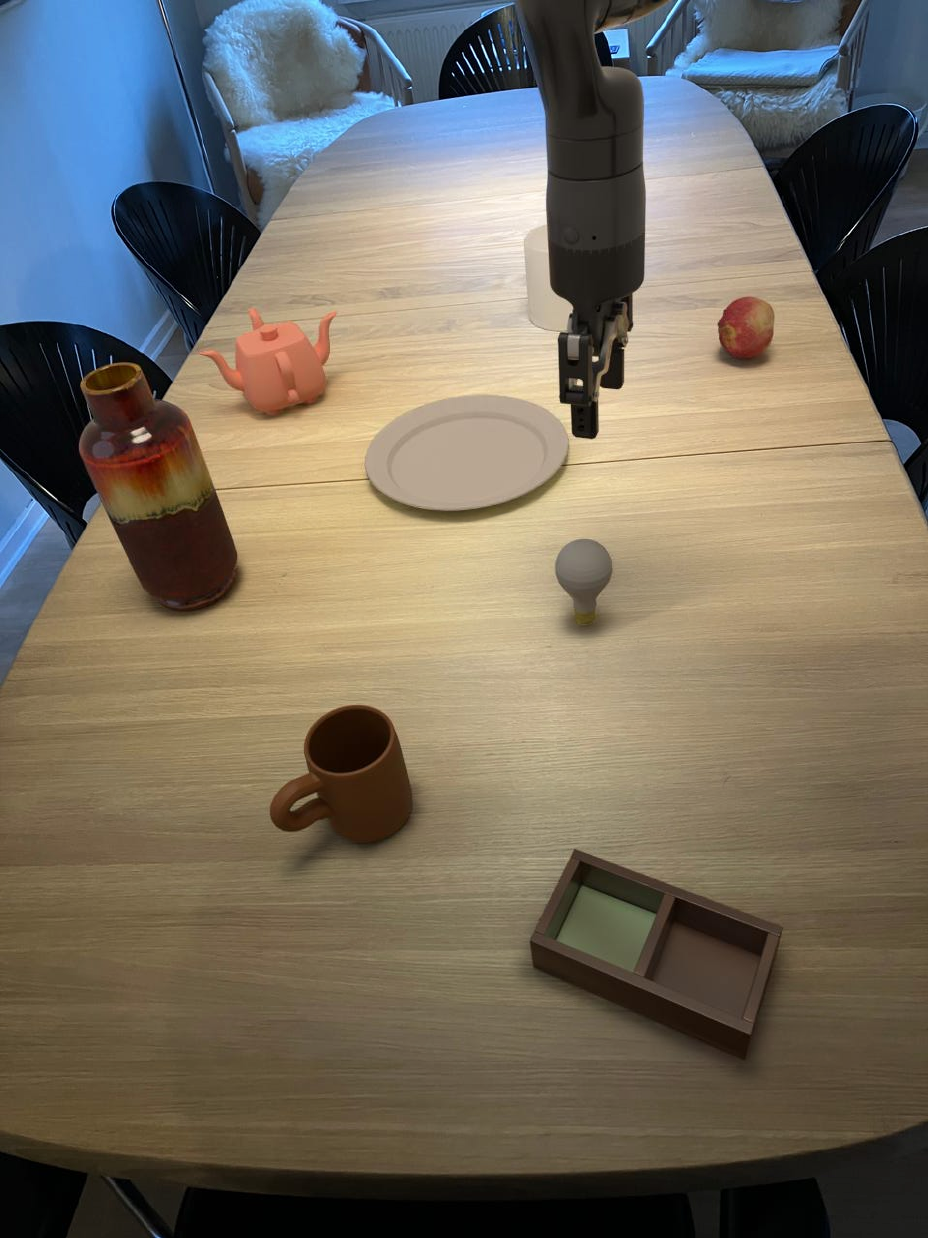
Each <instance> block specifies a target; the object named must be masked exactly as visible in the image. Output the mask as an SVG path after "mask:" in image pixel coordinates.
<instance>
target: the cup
mask: <svg viewBox="0 0 928 1238" xmlns="http://www.w3.org/2000/svg"><path fill="white" fill-rule="evenodd" d="M523 252H524V267H525V281H526V282H525V283H526V295H527V311H528V318H529V321H530V322H531V323H532V324H533V325H535V326H536V327H537V328H540V329H544V330H548V331H554V332H555V331H556V332H567V325H568V318H569V315H570V313H572V310H573V306H572V305H571V304H570V303H569V302H568V301H567V300H565V299H564V298H561V297H559V296H558V295H556V294H555V293H554V291H553V290H552V288H551V286H550V274H549V254H548V235H547V223H546V224H542V225H539V226H538V227H535V228H534V229H531V230H530V231H529V232H528V233H527V234H526V235H525V236H524V238H523Z"/></svg>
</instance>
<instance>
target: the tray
mask: <svg viewBox="0 0 928 1238" xmlns="http://www.w3.org/2000/svg"><path fill="white" fill-rule="evenodd" d="M783 930H784V927H783V926H781V925H779V924H776V923H773V922H771V921H769V920H766V919H763V918H761V917H757V916H755V915H752V914H750V913H748V912H744V911H742V910H739V909H736V908H734V907H732V906H728V905H726V904H723V903H721V902H718V901H715V900H713V899H709V898H708V897H704V896H702V895H699V894H697V893H694V892H691V891H689V890H686V889H683V888H681V887H678V886H675V885H673V884H670V883H667V882H665V881H662V880H659V879H657V878H653V877H651V876H648V875H646V874H643V873H640V872H638V871H635V870H633V869H630V868H628V867H625V866H622V865H619V864H616V863H614V862H611V861H608V860H606V859H603V858H601V857H598V856H595V855H593V854H590V853H587V852H585V851H581V850H579V849H577V848H574V849H573V851H572V853H571V855H570V858H569V859H568V861H567V863H566V865H565V867H564V869H563V871H562V874H561V876H560V878H559V879H558V882H557V884H556V886H555V888H554V890H553V892H552V894H551V896H550V898H549V900H548V902H547V904H546V906H545V908H544V910H543V913H542V914H541V916H540V918H539V920H538V922H537V924H536V927H535V929H534V931H533V932H532V935H531V937H530V939H529V947H530V953H531V961H532V967H533V969H535V970H538V971H539V972H543V973H545V974H547V975H549V976H552V977H554V978H555V979H558V980H561V981H563V982H565V983H567V984H569V985H572V986H574V987H577V988H579V989H581V990H583V991H586V992H588V993H590V994H593V995H594V996H597V997H599V998H601V999H604V1000H606V1001H608V1002H610V1003H613V1004H614V1005H617V1006H619V1007H622V1008H623V1009H626V1010H629V1011H631V1012H633V1013H636V1014H637V1015H639V1016H643V1017H644V1018H647V1019H649V1020H652V1021H654V1022H656V1023H658V1024H660V1025H662V1026H665V1027H667V1028H669V1029H671V1030H674V1031H676V1032H679V1033H681V1034H683V1035H685V1036H688V1037H690V1038H692V1039H694V1040H697V1041H698V1042H701V1043H703V1044H705V1045H708V1046H710V1047H712V1048H715V1049H716V1050H717V1049H718V1050H719V1051H721V1052H724V1053H726V1054H728V1055H731V1056H733V1057H735V1058H737V1059H740V1060H742V1061H746V1058H747V1055H748V1051H749V1048H750V1046H751V1042H752V1038H753V1035H754V1031H755V1028H756V1025H757V1022H758V1018H759V1014H760V1011H761V1008H762V1005H763V1002H764V998H765V994H766V992H767V988H768V984H769V982H770V977H771V974H772V971H773V968H774V964H775V960H776V957H777V954H778V949H779V947H780V941H781V937H782V933H783Z"/></svg>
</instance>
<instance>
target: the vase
mask: <svg viewBox="0 0 928 1238" xmlns="http://www.w3.org/2000/svg"><path fill="white" fill-rule="evenodd" d="M80 389H81V392H82V395H83V396H84V399H85V401H86V404H87V407H88V409H89V411H90V413H91V417H92V418H91V419H90V420H89V421H88V423H87V424H86V425H85V427H84V429H83V431H82V432H81V435H80V437H79V442H78V452H79V456H80V458H81V460H82V463H83V465H84V467H85V469H86V472H87V474H88V476H89V478H90V481H91V483H92V484H93V487H94V489H95V491H96V493H97V495H98V498H99V499H100V502H101V503H102V506H103V508H104V510H105V513H106V515H107V516H108V520H109V521H110V524H111V525H112V528H113V529H114V532H115V533H116V536H117V538H118V540H119V542H120V544H121V546H122V549H123V551H124V552H125V555H126V557H127V559H128V561H129V564H130V565H131V567H132V569H133V572H134V573H135V576H136V577H137V579H138V581H139V583H140V585H141V586H142V589H143V590H144V591H145V592H146V593H148V594H149V595H150V596H152V597H155V598H156V599H157V601H158V603H159V604H160V605H161V606H162V607H164V608H165V609H167V610H170V611H172V612H177V613H190V612H196V611H201V610H203V609H207V608H208V607H211V606H213V605H215V604H217V603H218V602H220V601H222V600H223V599H224V598H225V597H227V596H228V595H229V593H231V591H232V590H233V588H234V586H235V584H236V582H237V581H236V580H237V573H236V570H235V569H236V566H237V562H238V551H237V548H236V544H235V541H234V538H233V536H232V533H231V529H230V527H229V524H228V522H227V518H226V516H225V513H224V510H223V508H222V505H221V501H220V499H219V496H218V493H217V490H216V488H215V485H214V482H213V479H212V476H211V473H210V471H209V468H208V466H207V463H206V460H205V457H204V454H203V452H202V448H201V446H200V444H199V441H198V437H197V435H196V433H195V430H194V427H193V425H192V422H191V420H190V418H189V416H188V414H187V413H186V412H185V411H184V410H183V409H182V408H180V407H179V406H177V405H176V404H175V403H171V402H169V401H166V400H164V399H160V398H154V396H153V393H152V391H151V389H150V386H149V383H148V380H147V379H146V376H145V374H144V371H143V370H142V368H141V366H140V365H139V364H136V363H133V362H116V363H110V364H106V365H104V366H101V367H99V368H96V369H94V370H92V371H91V372H89V373H88V374H87V375H85V376H84V377H83V378H82V379H81V382H80Z"/></svg>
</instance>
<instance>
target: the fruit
mask: <svg viewBox="0 0 928 1238" xmlns="http://www.w3.org/2000/svg"><path fill="white" fill-rule="evenodd" d="M722 311H723V312H722V316H721V318H720V319H719V320H718V322H717V326H718V329H717V332H718V340H719V343H720V345H721V347H722V349H724V350H725V352H727V353H728V354H729V355H730V356H732V357H733V358H738V359H743V360H744V359H745V360H746V359H750V358H754V357H756V356H759V355H761V354H762V353H764V352H765V351H766V350H767V349H768V348H769V347H770V345H771V343H772V341H773V338H774V333H775V332H774V329H775V327H774V325H775V319H776V317H775V316H776V315H775V311H774V308H773V306H772V305H771V304H770V303H768V302H767V301H765V300H763V299H761V298H758V297H756V296H743V297H739V298H736V299H735V300H733V301H732V302H730V304H728V306H726V308H725V309H723V310H722Z"/></svg>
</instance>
